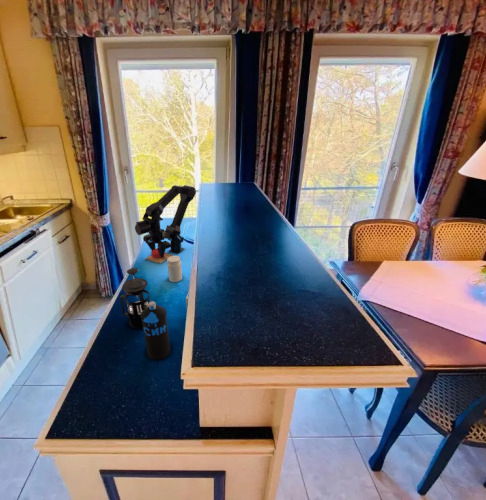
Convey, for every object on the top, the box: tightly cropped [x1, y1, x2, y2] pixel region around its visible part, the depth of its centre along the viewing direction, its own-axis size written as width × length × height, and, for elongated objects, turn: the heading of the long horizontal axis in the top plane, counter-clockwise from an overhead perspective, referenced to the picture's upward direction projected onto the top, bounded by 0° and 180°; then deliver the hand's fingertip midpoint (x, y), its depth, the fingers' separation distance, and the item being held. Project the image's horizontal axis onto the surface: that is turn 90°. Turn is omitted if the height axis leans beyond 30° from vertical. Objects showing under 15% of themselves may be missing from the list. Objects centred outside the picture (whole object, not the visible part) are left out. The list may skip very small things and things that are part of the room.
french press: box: [119, 267, 151, 330], centre depth 104 cm, size 12×9×23 cm
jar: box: [166, 255, 183, 283], centre depth 134 cm, size 7×7×11 cm
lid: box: [150, 248, 166, 258], centre depth 155 cm, size 8×8×2 cm
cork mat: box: [145, 252, 172, 264], centre depth 157 cm, size 10×10×1 cm
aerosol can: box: [139, 300, 172, 361], centre depth 91 cm, size 8×8×20 cm
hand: (158, 255), depth 156 cm, fingers closed on lid, 7 cm apart
